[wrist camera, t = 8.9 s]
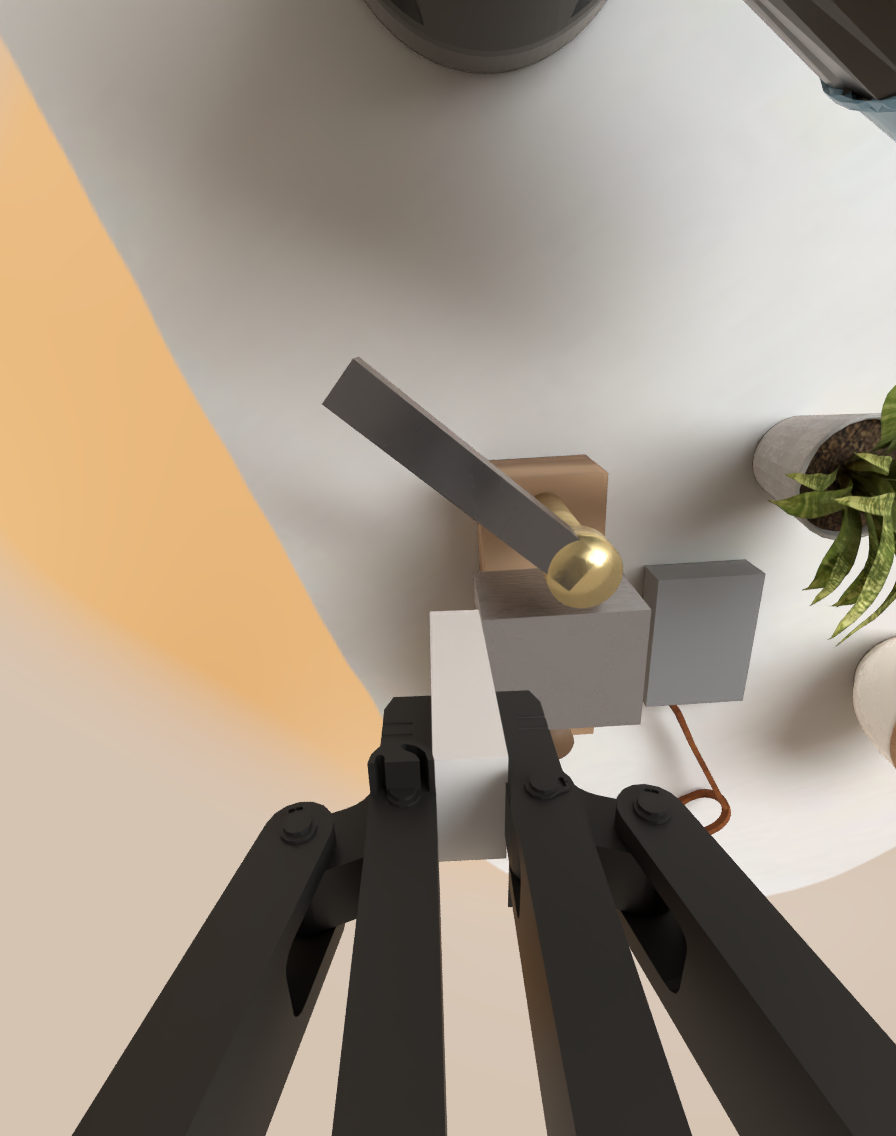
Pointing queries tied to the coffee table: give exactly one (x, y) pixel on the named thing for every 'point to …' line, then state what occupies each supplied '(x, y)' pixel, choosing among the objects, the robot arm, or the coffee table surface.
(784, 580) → the coffee table surface
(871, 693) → the lidded jar
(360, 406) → the lever
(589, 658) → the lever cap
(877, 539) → the house plant
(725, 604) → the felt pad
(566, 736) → the body
